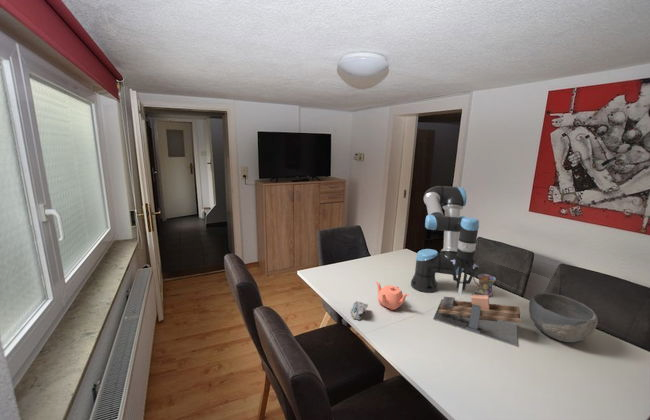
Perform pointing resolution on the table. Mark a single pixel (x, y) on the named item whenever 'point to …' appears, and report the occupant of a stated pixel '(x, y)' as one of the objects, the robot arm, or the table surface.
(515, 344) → the stand
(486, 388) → the table surface
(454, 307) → the beam
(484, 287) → the mug
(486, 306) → the block
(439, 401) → the table surface
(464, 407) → the table surface
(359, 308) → the mineral specimen
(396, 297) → the teapot
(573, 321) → the bowl
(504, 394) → the table surface
